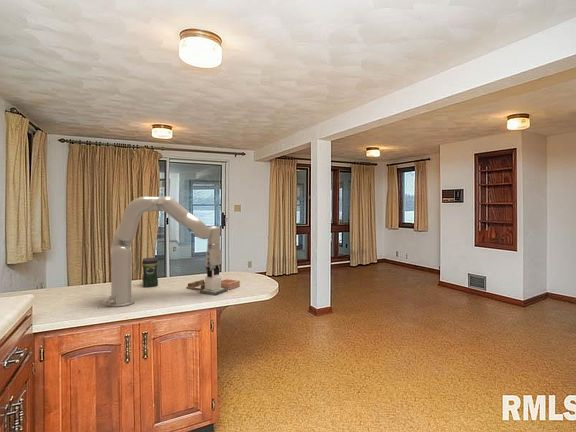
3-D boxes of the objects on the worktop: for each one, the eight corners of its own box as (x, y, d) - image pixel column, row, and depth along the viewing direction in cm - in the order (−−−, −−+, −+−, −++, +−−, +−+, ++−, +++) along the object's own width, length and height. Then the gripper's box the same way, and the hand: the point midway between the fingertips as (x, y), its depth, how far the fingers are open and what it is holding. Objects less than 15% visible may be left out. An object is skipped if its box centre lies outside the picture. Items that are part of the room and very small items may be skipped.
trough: (200, 290, 208) (200, 286, 208) (186, 288, 213) (186, 284, 213) (218, 285, 223) (218, 280, 223) (204, 283, 229) (204, 279, 228)
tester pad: (214, 293, 199) (214, 291, 199) (203, 291, 203) (203, 289, 203) (224, 290, 207) (224, 288, 207) (212, 288, 211) (212, 286, 211)
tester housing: (215, 295, 197) (215, 293, 197) (199, 293, 203) (199, 290, 203) (227, 291, 208) (227, 288, 208) (212, 288, 213) (212, 286, 213)
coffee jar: (157, 284, 226) (157, 256, 225) (158, 286, 219) (158, 258, 218) (141, 285, 222) (141, 257, 221) (142, 288, 215) (142, 259, 214)
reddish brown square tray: (229, 290, 210) (229, 283, 210) (215, 288, 215) (215, 282, 215) (239, 286, 220) (239, 280, 220) (226, 284, 225) (226, 278, 225)
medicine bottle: (214, 286, 210) (214, 267, 210) (221, 288, 205) (221, 268, 205) (204, 288, 204) (204, 268, 204) (211, 290, 200) (212, 270, 200)
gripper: (209, 248, 195) (208, 279, 195) (227, 245, 211) (226, 274, 211) (199, 247, 199) (198, 277, 199) (217, 245, 214) (217, 273, 214)
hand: (213, 275), depth 205 cm, fingers closed on medicine bottle, 6 cm apart
